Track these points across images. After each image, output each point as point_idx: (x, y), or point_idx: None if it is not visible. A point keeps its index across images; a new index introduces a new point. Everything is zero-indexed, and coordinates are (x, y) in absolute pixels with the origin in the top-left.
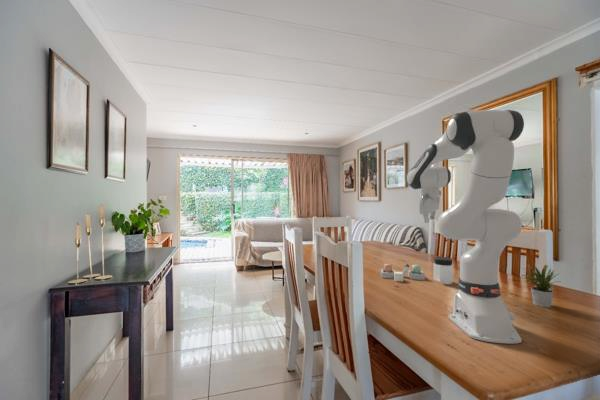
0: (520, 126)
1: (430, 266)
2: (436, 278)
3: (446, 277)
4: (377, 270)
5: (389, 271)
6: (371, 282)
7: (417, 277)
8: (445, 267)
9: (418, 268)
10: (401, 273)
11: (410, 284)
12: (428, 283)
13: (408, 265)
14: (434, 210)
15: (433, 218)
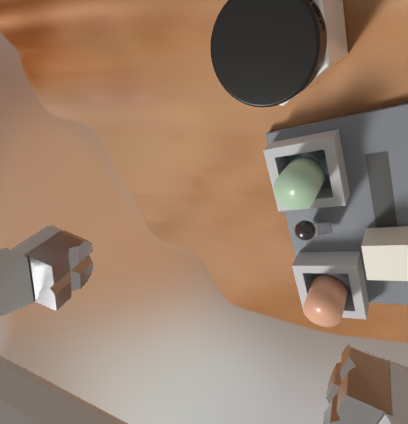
0: None
1: (79, 109)
2: (322, 75)
3: (337, 20)
4: (231, 297)
5: (345, 290)
6: None
7: (342, 166)
8: (327, 27)
9: (314, 176)
10: (399, 251)
11: None
12: (352, 110)
13: (308, 227)
14: (4, 372)
15: (79, 249)
